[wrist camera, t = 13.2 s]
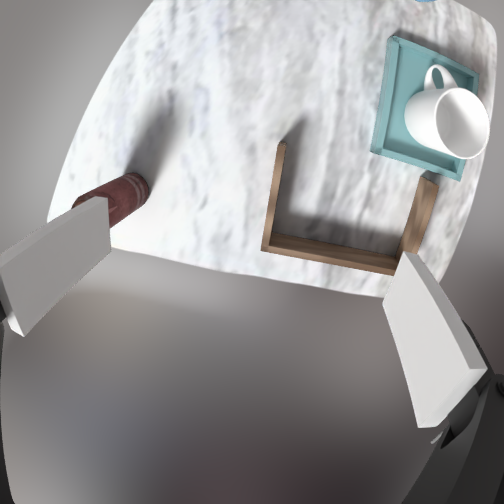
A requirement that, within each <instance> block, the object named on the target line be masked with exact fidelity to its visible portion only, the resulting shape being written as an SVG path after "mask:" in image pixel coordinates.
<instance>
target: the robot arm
mask: <svg viewBox="0 0 504 504" xmlns="http://www.w3.org/2000/svg"><path fill="white" fill-rule="evenodd" d="M416 1H419V2H432V1H436V0H416ZM110 252H111V241H110V229H109V214H108V198H104V197H97V196H95V197H93V198H91V199H89V200H87V201H85V202H83V203H82V204H80V205H78V206H76V207H74V208H73V209H71V210H69V211H67V212H66V213H64V214H62V215H60V216H59V217H57V218H55V219H54V220H52V221H50V222H49V223H47V224H46V225H44V226H42V227H41V228H39V229H37V230H36V231H34V232H33V233H31V234H30V235H28V236H26V237H25V238H23V239H22V240H20V241H19V242H17V243H16V244H14V245H13V246H11V247H10V248H9V249H7V250H6V251H4V252H3V253H1V254H0V377H1V358H2V347H3V337H4V326H3V323H2V320H4V319H5V318H6V317H7V320H8V322H9V324H10V327H11V329H12V330H13V331H15V332H17V333H18V334H20V335H22V336H23V337H24V336H25V335H26V334H27V333H28V332H29V331H30V330H31V329H32V328H33V327H34V326H35V324H36V323H37V322H38V321H39V320H40V319H41V318H42V317H43V316H44V315H45V314H46V313H47V312H48V311H49V310H50V309H51V308H52V307H53V306H54V305H55V304H56V303H57V302H58V301H59V300H60V299H61V298H62V297H63V296H64V295H65V294H66V293H67V292H68V291H69V290H70V289H71V288H72V287H73V286H74V285H75V284H76V283H77V282H78V281H79V280H81V279H82V278H83V277H84V276H85V275H86V274H87V273H88V272H89V271H90V270H91V269H92V268H93V267H94V266H96V265H97V264H98V263H99V262H100V261H101V260H102V259H103V258H104V257H106V256H107V255H108V254H109V253H110ZM382 305H383V308H384V311H385V313H386V316H387V319H388V322H389V325H390V328H391V331H392V334H393V337H394V340H395V343H396V347H397V349H398V353H399V356H400V359H401V363H402V366H403V370H404V373H405V377H406V380H407V384H408V387H409V391H410V395H411V399H412V403H413V407H414V411H415V416H416V420H417V425H418V428H423V427H434V426H437V425H438V424H439V423H440V422H441V421H442V420H443V419H444V418H445V417H446V416H447V415H448V419H449V422H450V424H449V425H448V426H447V427H446V428H445V429H444V430H442V431H441V432H440V433H439V434H438V435H437V436H436V437H435V438H434V439H433V440H432V441H431V443H432V444H433V443H434V442H436V441H437V440H438V439H439V441H438V443H437V445H436V447H435V449H434V451H433V453H432V454H431V456H430V458H429V460H428V462H427V463H426V465H425V467H424V469H423V470H422V472H421V474H420V475H419V477H418V479H417V480H416V482H415V484H414V485H413V487H412V488H411V490H410V491H409V493H408V494H407V496H406V497H405V499H404V500H403V502H402V503H401V504H504V375H502V374H496V375H495V374H494V372H493V370H492V368H491V366H490V364H489V362H488V360H487V358H486V356H485V354H484V352H483V350H482V348H480V345H479V343H478V342H477V340H476V339H475V336H474V334H473V332H472V331H471V329H470V327H469V326H468V325H467V324H466V323H465V322H464V321H463V320H462V319H461V318H460V317H459V315H458V314H457V312H456V311H455V309H454V307H453V306H452V304H451V302H450V301H449V299H448V298H447V296H446V295H445V293H444V291H443V290H442V288H441V287H440V285H439V284H438V282H437V281H436V279H435V278H434V276H433V275H432V273H431V272H430V271H429V269H428V268H427V266H426V265H425V263H424V262H423V261H422V259H421V258H420V256H419V255H418V254H414V253H409V252H405V251H403V254H402V256H401V259H400V262H399V264H398V267H397V269H396V272H395V275H394V277H393V279H392V282H391V284H390V287H389V289H388V292H387V294H386V296H385V298H384V301H383V303H382ZM0 504H15V503H14V501H13V499H12V496H11V492H10V487H9V482H8V477H7V472H6V465H5V459H4V452H3V443H2V432H1V413H0Z"/></svg>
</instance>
